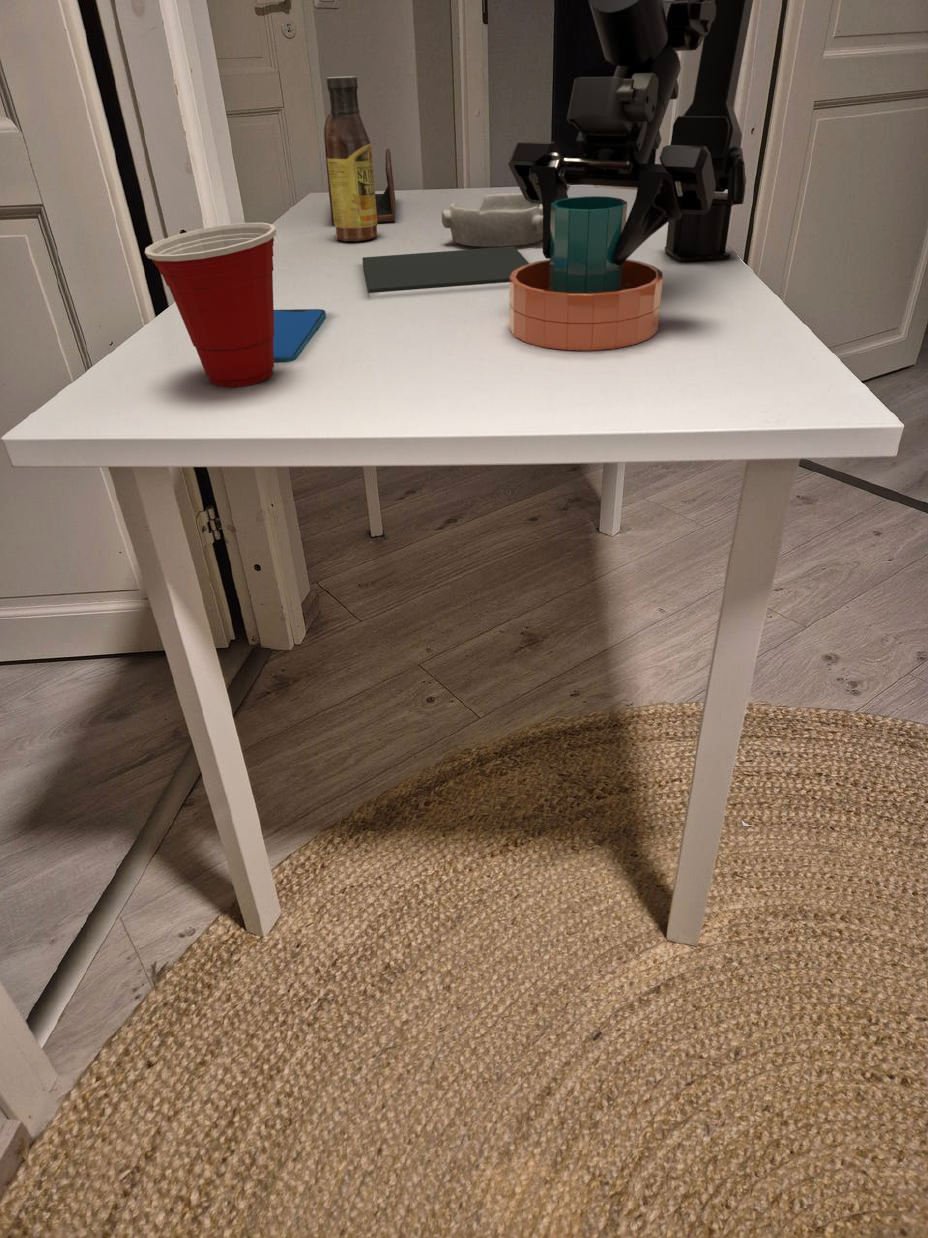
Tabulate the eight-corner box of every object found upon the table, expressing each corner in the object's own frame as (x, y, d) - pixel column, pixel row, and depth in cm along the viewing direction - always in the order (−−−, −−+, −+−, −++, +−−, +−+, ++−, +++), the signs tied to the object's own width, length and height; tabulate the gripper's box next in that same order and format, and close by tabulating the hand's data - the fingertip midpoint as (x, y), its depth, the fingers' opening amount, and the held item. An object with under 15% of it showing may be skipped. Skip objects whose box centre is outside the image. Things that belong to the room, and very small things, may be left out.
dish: (435, 248, 113) (433, 208, 111) (472, 227, 124) (471, 190, 121) (535, 253, 109) (536, 212, 106) (565, 231, 119) (566, 193, 116)
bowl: (630, 307, 87) (635, 252, 84) (678, 349, 76) (685, 287, 73) (498, 318, 86) (498, 262, 83) (526, 363, 75) (527, 300, 71)
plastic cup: (189, 360, 79) (157, 223, 72) (303, 352, 79) (282, 216, 72) (166, 402, 70) (126, 251, 63) (293, 393, 70) (268, 242, 63)
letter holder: (331, 226, 129) (319, 121, 121) (338, 203, 145) (328, 109, 137) (395, 222, 129) (387, 117, 121) (395, 200, 145) (388, 106, 137)
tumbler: (606, 314, 84) (614, 194, 77) (626, 334, 78) (635, 206, 72) (542, 319, 83) (544, 198, 76) (558, 340, 78) (561, 211, 71)
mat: (514, 254, 109) (514, 245, 108) (540, 284, 96) (540, 275, 96) (363, 265, 107) (362, 257, 107) (369, 297, 94) (368, 288, 94)
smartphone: (217, 358, 78) (261, 309, 90) (219, 368, 78) (262, 318, 90) (294, 358, 77) (327, 308, 89) (295, 368, 78) (328, 317, 90)
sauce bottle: (371, 243, 118) (355, 76, 106) (330, 243, 119) (309, 78, 107) (384, 233, 123) (370, 73, 111) (344, 233, 124) (326, 75, 112)
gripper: (517, 37, 74) (458, 195, 73) (725, 30, 66) (662, 208, 65) (553, 129, 84) (502, 269, 83) (738, 133, 76) (683, 288, 75)
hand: (580, 259), depth 76 cm, fingers closed on tumbler, 7 cm apart
